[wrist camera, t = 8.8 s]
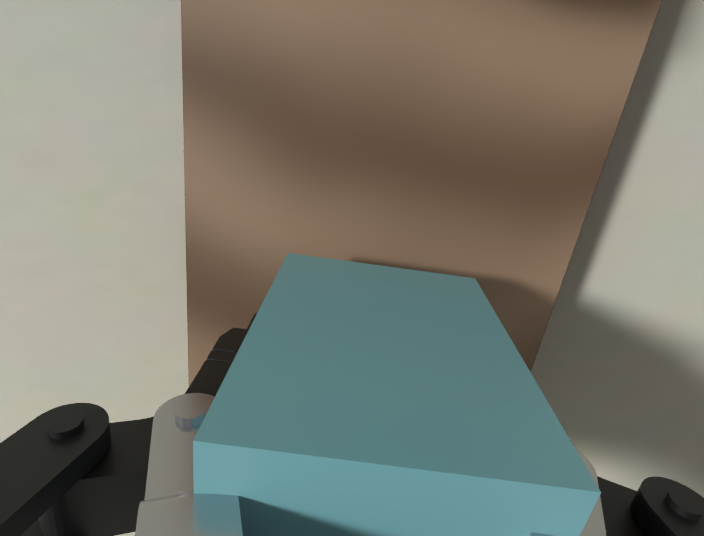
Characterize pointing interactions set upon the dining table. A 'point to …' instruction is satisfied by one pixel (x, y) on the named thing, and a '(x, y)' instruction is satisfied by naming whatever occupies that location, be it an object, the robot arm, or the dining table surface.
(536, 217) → the post board
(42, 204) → the dining table surface
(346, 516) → the teal rectangular block
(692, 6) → the dining table surface
